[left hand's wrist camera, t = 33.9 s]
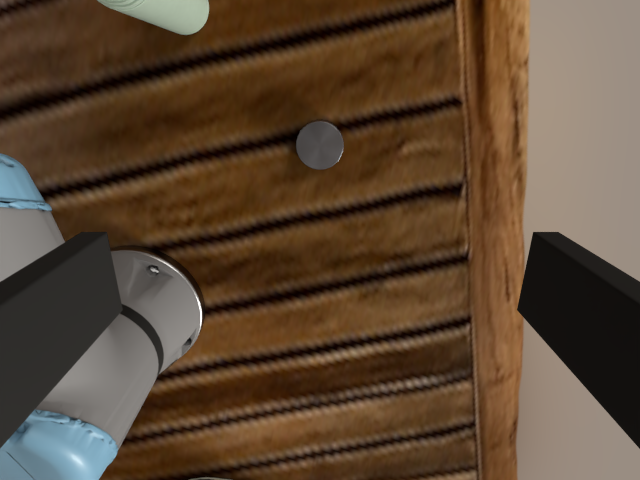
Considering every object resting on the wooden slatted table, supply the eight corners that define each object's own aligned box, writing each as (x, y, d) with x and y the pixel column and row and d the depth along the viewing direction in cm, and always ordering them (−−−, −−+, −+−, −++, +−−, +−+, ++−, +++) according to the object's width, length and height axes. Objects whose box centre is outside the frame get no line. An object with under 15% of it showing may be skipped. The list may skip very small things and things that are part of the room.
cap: (287, 135, 40) (286, 137, 38) (327, 109, 39) (328, 110, 37) (312, 174, 42) (312, 178, 40) (351, 150, 41) (352, 153, 39)
